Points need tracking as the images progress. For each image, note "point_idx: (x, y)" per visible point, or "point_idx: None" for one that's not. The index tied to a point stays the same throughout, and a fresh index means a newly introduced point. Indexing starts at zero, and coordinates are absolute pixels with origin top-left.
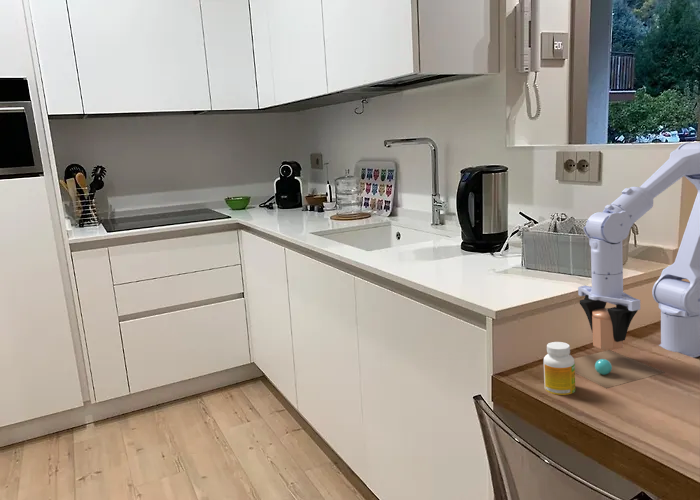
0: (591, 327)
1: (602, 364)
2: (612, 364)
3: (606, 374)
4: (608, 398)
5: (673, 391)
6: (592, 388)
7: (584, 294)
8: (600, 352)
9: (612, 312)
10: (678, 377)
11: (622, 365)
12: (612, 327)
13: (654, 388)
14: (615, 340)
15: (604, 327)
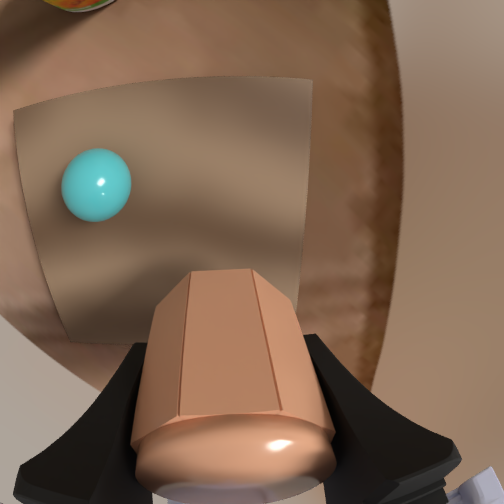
0: (321, 351)
1: (66, 171)
2: (174, 266)
3: None
4: (6, 99)
5: (7, 286)
6: (76, 89)
7: (458, 496)
8: (294, 304)
9: (42, 485)
10: (75, 352)
11: (151, 288)
12: (137, 399)
13: (25, 263)
14: (141, 345)
15: (165, 376)
